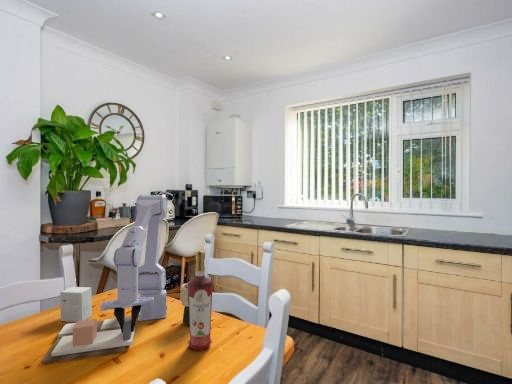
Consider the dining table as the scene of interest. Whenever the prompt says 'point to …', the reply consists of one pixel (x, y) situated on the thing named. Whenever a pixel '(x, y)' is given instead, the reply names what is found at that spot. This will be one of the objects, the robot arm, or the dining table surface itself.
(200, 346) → the liquor
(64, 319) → the small box
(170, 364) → the dining table surface
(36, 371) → the dining table surface
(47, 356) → the board
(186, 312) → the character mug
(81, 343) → the block
